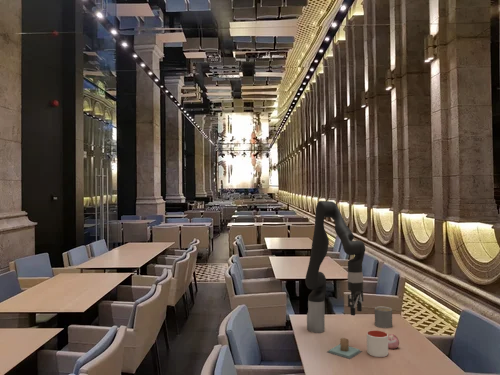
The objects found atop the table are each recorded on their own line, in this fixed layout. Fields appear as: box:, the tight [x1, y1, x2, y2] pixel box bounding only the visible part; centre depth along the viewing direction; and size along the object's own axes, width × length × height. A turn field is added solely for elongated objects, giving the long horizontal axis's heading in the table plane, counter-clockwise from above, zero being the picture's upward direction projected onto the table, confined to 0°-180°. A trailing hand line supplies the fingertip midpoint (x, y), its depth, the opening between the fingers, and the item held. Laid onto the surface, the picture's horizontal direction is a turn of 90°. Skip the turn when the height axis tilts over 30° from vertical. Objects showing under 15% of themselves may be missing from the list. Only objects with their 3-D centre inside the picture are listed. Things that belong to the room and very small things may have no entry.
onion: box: [387, 333, 400, 350], centre depth 208 cm, size 8×8×7 cm
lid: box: [328, 337, 361, 359], centre depth 202 cm, size 11×11×6 cm
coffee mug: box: [374, 305, 393, 329], centre depth 245 cm, size 13×10×10 cm
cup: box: [366, 330, 389, 358], centre depth 200 cm, size 10×10×10 cm
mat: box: [326, 350, 363, 360], centre depth 202 cm, size 13×13×1 cm
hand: (356, 313), depth 205 cm, fingers open, 8 cm apart
